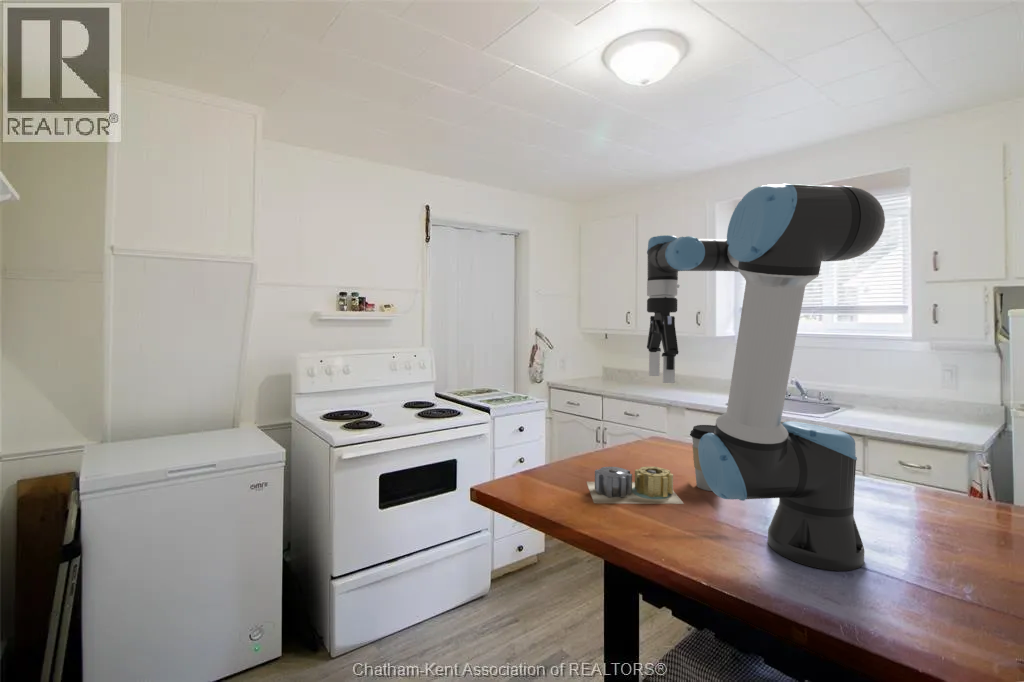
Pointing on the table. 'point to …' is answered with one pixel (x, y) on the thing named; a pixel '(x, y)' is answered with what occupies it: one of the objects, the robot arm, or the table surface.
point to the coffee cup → (696, 436)
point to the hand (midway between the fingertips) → (661, 379)
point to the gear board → (633, 496)
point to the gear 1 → (613, 482)
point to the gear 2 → (654, 482)
